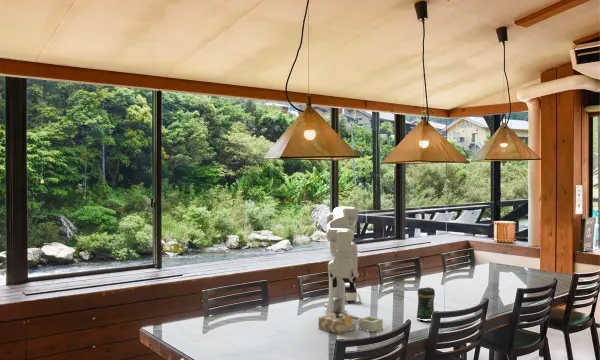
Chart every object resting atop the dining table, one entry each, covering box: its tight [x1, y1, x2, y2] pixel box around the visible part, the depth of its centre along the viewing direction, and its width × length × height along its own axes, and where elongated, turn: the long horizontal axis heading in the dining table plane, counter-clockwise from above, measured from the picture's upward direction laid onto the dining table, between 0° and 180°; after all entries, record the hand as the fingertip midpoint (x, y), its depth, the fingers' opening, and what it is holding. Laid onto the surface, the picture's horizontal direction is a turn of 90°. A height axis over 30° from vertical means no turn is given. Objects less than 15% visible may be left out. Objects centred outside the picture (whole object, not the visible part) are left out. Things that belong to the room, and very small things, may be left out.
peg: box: [333, 297, 342, 319], centre depth 259 cm, size 4×4×16 cm
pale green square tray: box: [358, 315, 384, 333], centre depth 259 cm, size 9×9×5 cm
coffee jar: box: [416, 286, 436, 319], centre depth 278 cm, size 10×8×19 cm
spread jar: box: [344, 282, 362, 303], centre depth 318 cm, size 12×11×12 cm
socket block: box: [318, 313, 356, 335], centre depth 259 cm, size 14×14×6 cm
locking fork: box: [342, 314, 364, 326], centre depth 249 cm, size 10×14×5 cm
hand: (343, 288), depth 246 cm, fingers open, 9 cm apart
